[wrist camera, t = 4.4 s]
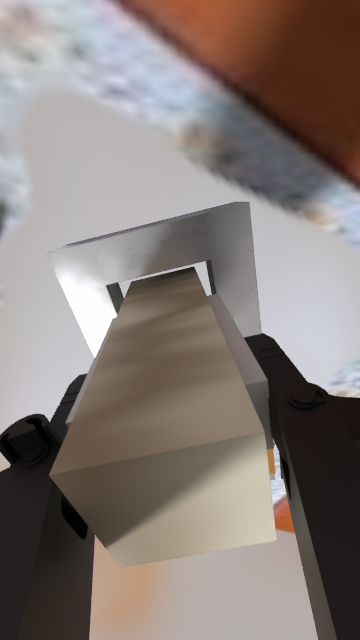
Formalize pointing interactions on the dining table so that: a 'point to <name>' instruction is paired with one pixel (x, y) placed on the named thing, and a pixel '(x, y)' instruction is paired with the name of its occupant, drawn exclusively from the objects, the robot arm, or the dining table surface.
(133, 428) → the peg
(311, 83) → the dining table surface
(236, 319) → the grey board
